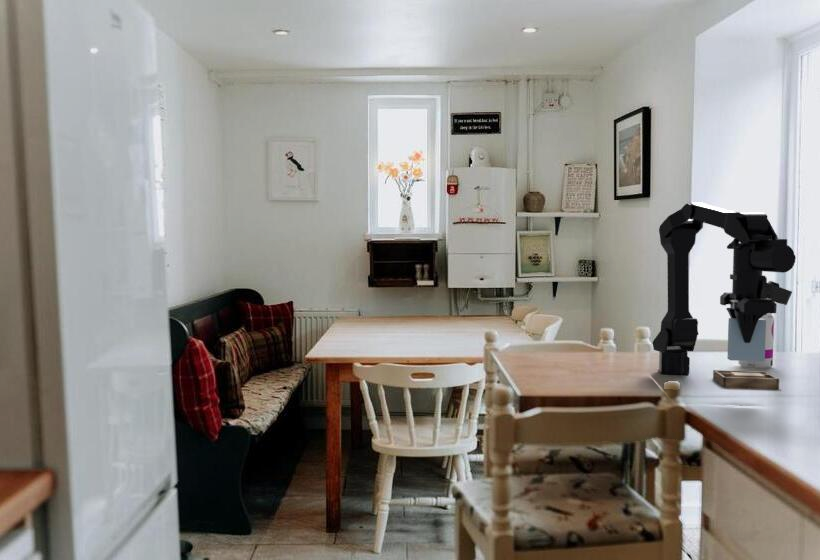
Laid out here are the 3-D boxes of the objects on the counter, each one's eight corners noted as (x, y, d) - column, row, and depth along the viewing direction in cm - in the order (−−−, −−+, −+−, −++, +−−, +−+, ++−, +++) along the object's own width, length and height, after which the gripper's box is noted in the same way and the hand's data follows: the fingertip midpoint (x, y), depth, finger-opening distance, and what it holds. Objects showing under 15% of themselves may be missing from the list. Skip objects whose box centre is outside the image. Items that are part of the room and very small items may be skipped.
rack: (724, 390, 155) (725, 378, 155) (712, 380, 166) (712, 369, 166) (781, 392, 153) (781, 380, 153) (764, 382, 164) (765, 370, 164)
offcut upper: (734, 380, 157) (734, 375, 157) (730, 377, 161) (730, 372, 161) (764, 381, 156) (764, 376, 156) (759, 378, 160) (759, 373, 160)
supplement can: (768, 365, 186) (769, 311, 185) (775, 371, 178) (777, 314, 177) (735, 363, 188) (737, 310, 187) (741, 369, 180) (743, 313, 179)
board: (730, 360, 147) (731, 319, 147) (727, 358, 149) (728, 318, 149) (764, 361, 146) (766, 319, 146) (761, 359, 148) (762, 318, 148)
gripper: (805, 272, 136) (802, 349, 137) (772, 268, 154) (770, 336, 155) (745, 272, 138) (743, 348, 139) (720, 268, 156) (718, 335, 157)
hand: (745, 341), depth 147 cm, fingers closed on board, 2 cm apart
